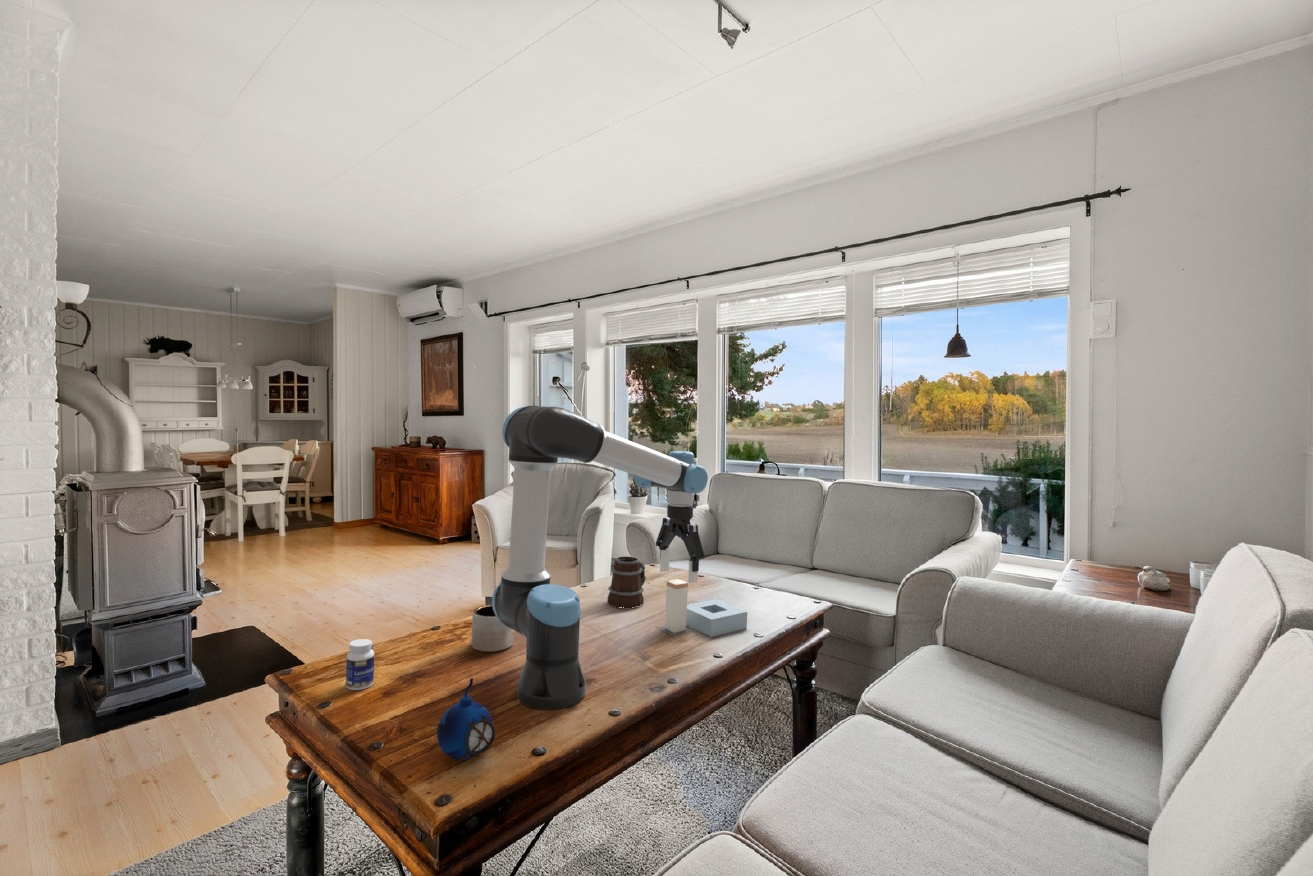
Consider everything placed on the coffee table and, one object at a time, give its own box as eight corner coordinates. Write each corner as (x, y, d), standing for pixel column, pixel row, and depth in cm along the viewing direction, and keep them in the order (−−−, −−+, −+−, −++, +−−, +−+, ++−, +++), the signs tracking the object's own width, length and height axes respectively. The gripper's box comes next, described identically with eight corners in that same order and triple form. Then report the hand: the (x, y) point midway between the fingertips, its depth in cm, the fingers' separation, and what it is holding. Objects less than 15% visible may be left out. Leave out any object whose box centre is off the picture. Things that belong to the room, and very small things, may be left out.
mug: (629, 611, 199) (630, 565, 198) (600, 603, 206) (601, 558, 205) (657, 600, 211) (658, 556, 211) (629, 593, 218) (631, 551, 218)
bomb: (457, 781, 106) (459, 695, 105) (426, 755, 113) (428, 675, 113) (506, 758, 113) (508, 678, 113) (473, 736, 121) (475, 660, 120)
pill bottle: (355, 693, 136) (356, 649, 136) (340, 686, 139) (341, 643, 139) (379, 684, 141) (379, 641, 141) (364, 677, 144) (364, 635, 144)
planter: (521, 646, 167) (522, 611, 166) (485, 656, 159) (486, 620, 158) (498, 635, 174) (499, 601, 174) (463, 644, 166) (464, 609, 166)
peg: (674, 632, 178) (675, 584, 177) (664, 628, 181) (666, 581, 181) (686, 630, 180) (688, 582, 180) (676, 625, 184) (678, 579, 183)
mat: (672, 639, 175) (672, 636, 175) (656, 630, 182) (656, 627, 182) (694, 634, 180) (694, 631, 180) (677, 626, 187) (678, 622, 187)
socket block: (710, 640, 176) (711, 619, 176) (680, 625, 187) (681, 605, 187) (746, 631, 184) (747, 611, 184) (715, 617, 195) (716, 599, 195)
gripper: (718, 510, 171) (716, 585, 173) (665, 497, 192) (663, 565, 193) (697, 512, 167) (695, 589, 168) (645, 499, 187) (643, 568, 188)
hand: (678, 576), depth 180 cm, fingers open, 13 cm apart
